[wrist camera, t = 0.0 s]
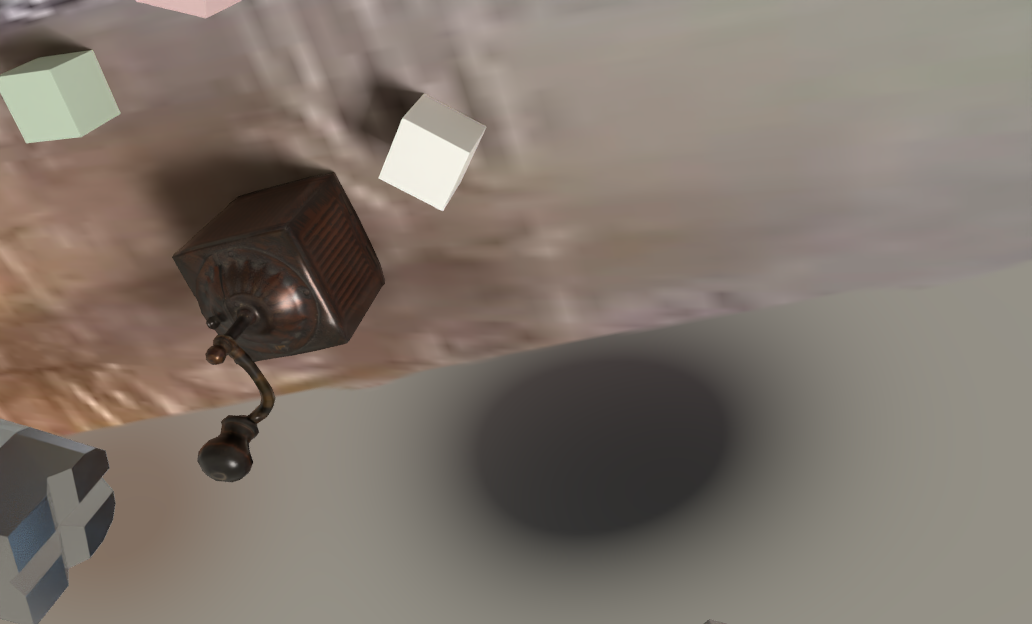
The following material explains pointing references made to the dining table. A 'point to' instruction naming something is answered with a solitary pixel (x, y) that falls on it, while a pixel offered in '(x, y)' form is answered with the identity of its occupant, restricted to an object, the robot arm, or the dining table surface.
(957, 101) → the dining table surface
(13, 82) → the sage block
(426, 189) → the off-white block
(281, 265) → the manual coffee grinder
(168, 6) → the dusty-rose block
